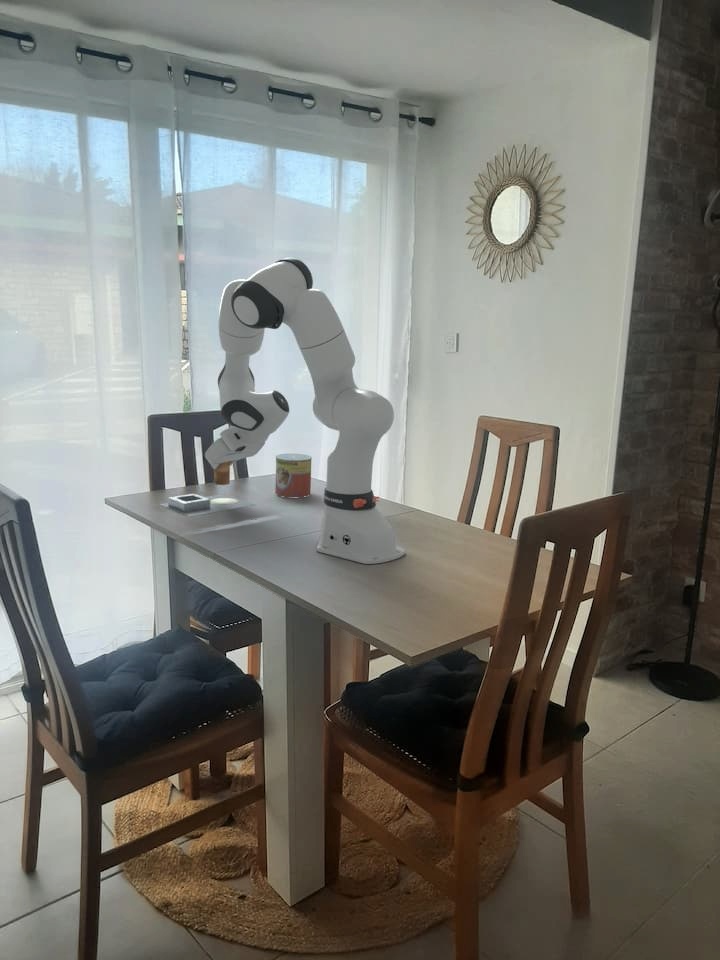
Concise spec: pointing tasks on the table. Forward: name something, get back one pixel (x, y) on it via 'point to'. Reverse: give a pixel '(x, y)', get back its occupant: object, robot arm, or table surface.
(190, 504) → the collar
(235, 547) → the table surface
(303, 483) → the canned food
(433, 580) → the table surface
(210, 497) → the base plate
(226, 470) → the plug
